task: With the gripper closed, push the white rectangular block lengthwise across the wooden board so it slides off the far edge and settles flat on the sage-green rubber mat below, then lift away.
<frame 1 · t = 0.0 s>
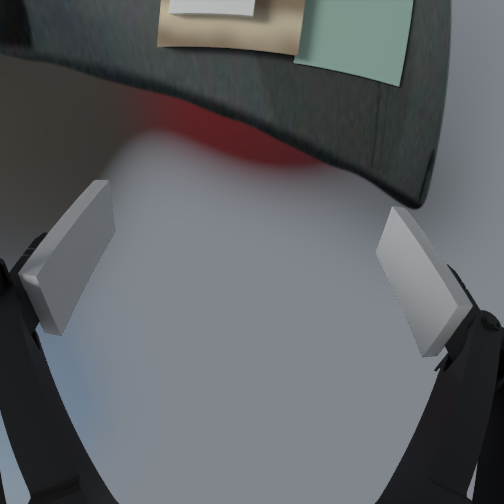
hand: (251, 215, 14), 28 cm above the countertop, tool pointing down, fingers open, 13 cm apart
mat: (357, 16, 29), on the countertop
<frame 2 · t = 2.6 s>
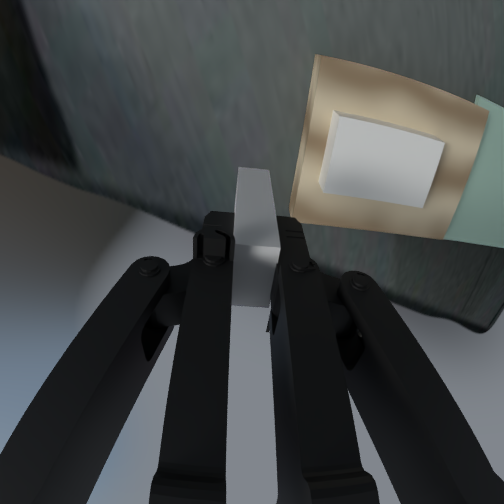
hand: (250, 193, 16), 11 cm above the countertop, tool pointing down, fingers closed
mat: (498, 181, 27), on the countertop
white rectangular block: (378, 156, 23), point 2 cm above the countertop, touching wooden board
wooden board: (388, 150, 26), on the countertop
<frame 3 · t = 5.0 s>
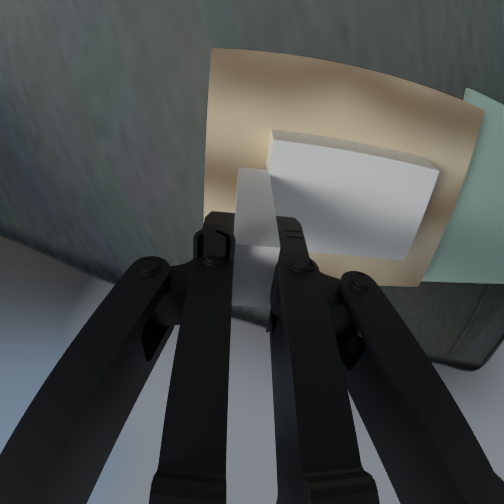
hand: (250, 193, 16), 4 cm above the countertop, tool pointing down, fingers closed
mat: (496, 204, 20), on the countertop
white rectangular block: (342, 190, 18), point 3 cm above the countertop, touching gripper
wooden board: (336, 173, 20), on the countertop
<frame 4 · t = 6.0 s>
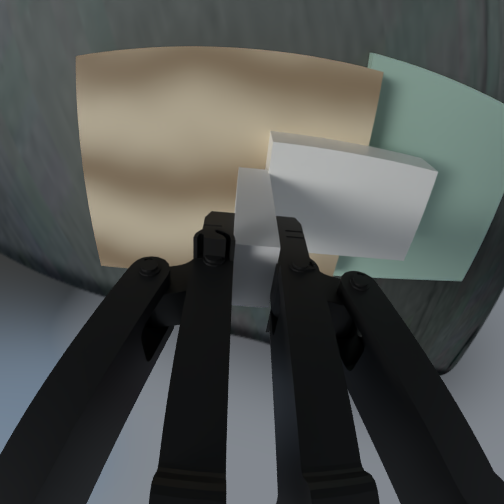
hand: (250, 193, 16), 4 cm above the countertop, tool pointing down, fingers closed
mat: (433, 188, 20), on the countertop
white rectangular block: (341, 192, 18), point 3 cm above the countertop, touching gripper
wooden board: (220, 160, 19), on the countertop
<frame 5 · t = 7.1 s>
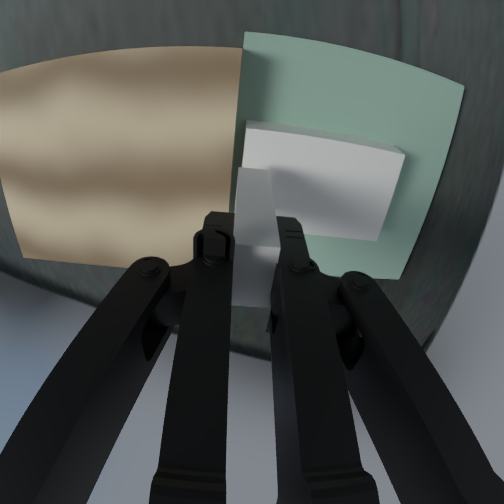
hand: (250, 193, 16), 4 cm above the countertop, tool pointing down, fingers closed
mat: (343, 173, 20), on the countertop
white rectangular block: (314, 176, 19), point 1 cm above the countertop, touching mat
wooden board: (110, 157, 19), on the countertop
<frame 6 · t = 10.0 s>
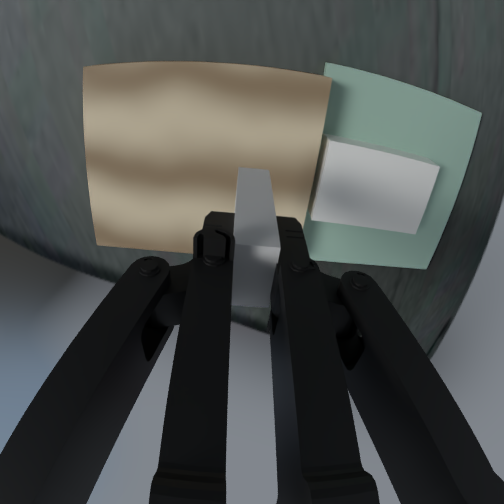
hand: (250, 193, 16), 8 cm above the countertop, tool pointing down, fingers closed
mat: (389, 179, 24), on the countertop
white rectangular block: (370, 181, 23), point 1 cm above the countertop, touching mat
wooden board: (199, 155, 23), on the countertop
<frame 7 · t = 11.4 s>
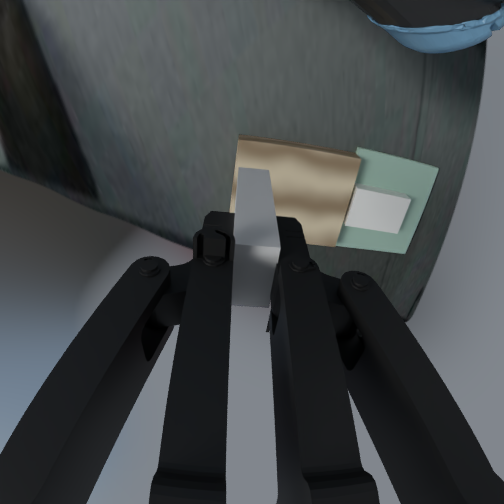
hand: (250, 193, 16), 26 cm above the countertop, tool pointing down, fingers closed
mat: (384, 204, 46), on the countertop
white rectangular block: (374, 205, 45), point 1 cm above the countertop, touching mat
wooden board: (290, 189, 44), on the countertop
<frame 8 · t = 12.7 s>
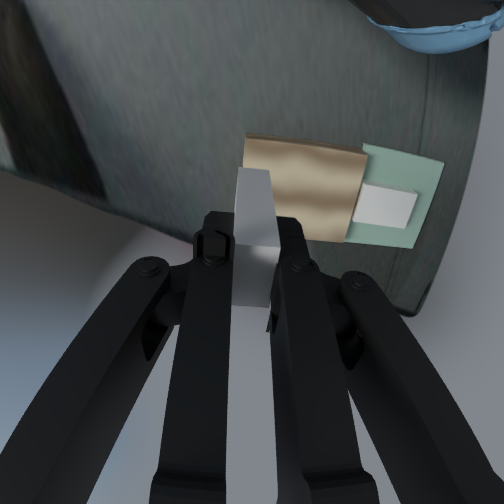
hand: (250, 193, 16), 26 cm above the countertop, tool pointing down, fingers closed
mat: (391, 200, 45), on the countertop
white rectangular block: (381, 201, 45), point 1 cm above the countertop, touching mat
wooden board: (297, 186, 44), on the countertop
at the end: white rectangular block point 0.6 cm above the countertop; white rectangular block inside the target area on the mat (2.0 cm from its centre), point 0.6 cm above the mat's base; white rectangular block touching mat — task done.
